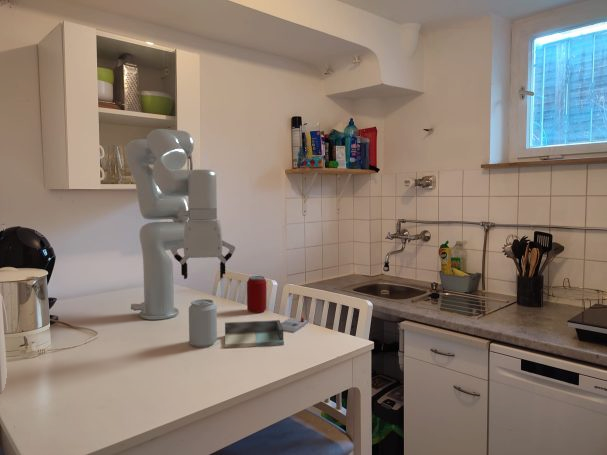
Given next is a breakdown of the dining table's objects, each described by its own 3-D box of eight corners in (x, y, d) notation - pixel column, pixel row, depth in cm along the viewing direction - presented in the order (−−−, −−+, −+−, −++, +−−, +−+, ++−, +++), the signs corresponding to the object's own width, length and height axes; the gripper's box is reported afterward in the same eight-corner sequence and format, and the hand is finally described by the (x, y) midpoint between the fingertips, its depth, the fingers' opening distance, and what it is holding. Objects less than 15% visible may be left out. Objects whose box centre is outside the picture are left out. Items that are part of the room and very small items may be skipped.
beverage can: (267, 308, 160) (267, 275, 159) (264, 313, 153) (264, 279, 152) (249, 308, 161) (249, 275, 160) (245, 313, 154) (245, 279, 153)
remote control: (271, 333, 135) (271, 323, 134) (294, 319, 149) (295, 311, 149) (291, 336, 132) (291, 326, 132) (313, 322, 146) (313, 313, 146)
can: (192, 350, 119) (192, 305, 118) (186, 341, 125) (185, 299, 124) (220, 345, 122) (219, 302, 121) (212, 337, 129) (212, 296, 128)
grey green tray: (225, 347, 120) (225, 333, 120) (225, 335, 130) (225, 322, 130) (283, 344, 123) (283, 330, 123) (279, 333, 133) (279, 320, 133)
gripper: (168, 216, 116) (169, 281, 117) (235, 215, 119) (236, 279, 120) (171, 214, 123) (172, 276, 125) (234, 214, 126) (235, 274, 128)
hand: (203, 277), depth 122 cm, fingers open, 9 cm apart
